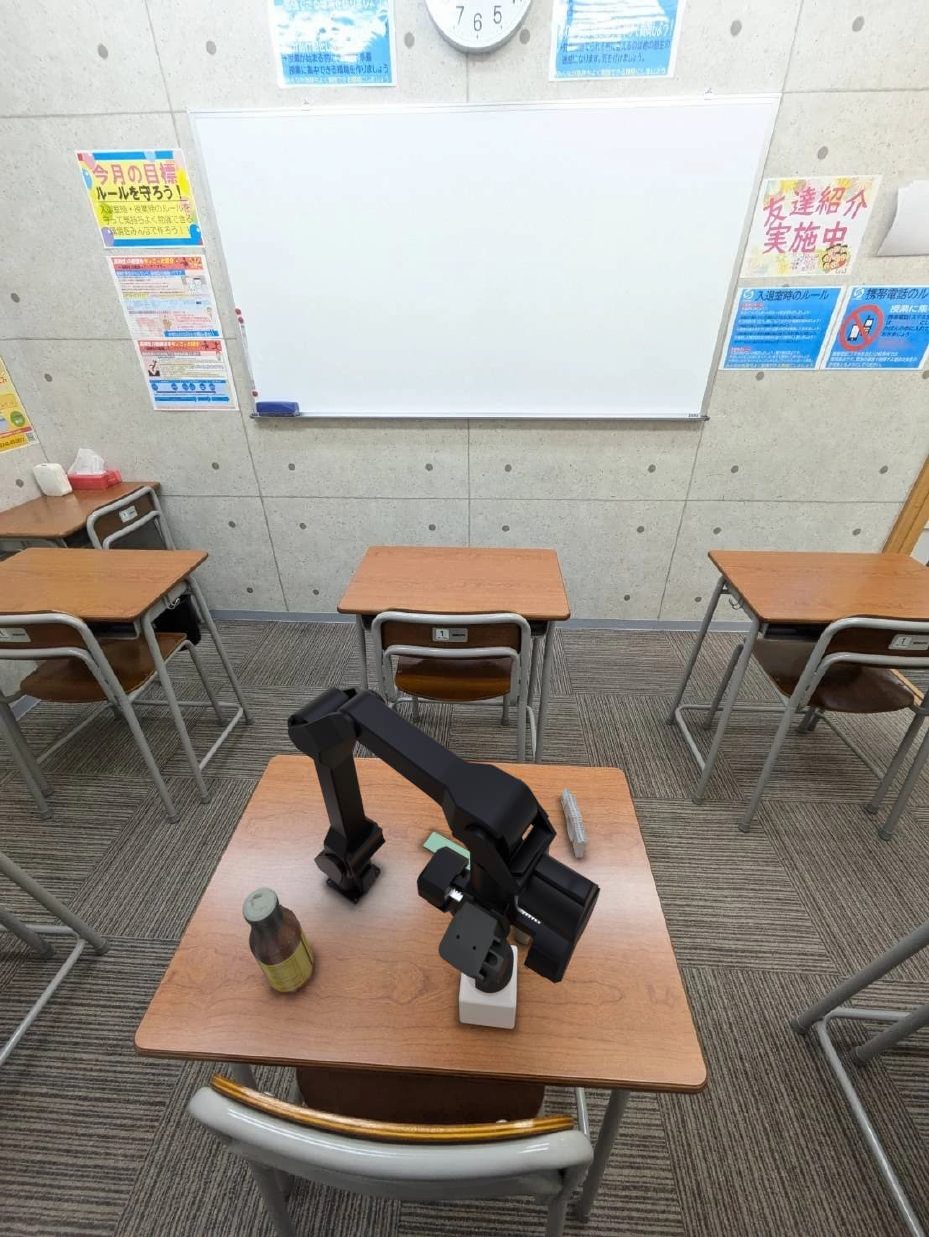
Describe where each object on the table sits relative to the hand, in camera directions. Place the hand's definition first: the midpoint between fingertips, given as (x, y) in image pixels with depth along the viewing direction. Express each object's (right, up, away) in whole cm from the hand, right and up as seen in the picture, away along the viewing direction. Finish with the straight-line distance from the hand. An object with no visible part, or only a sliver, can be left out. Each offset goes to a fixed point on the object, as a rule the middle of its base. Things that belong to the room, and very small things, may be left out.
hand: (494, 942), depth 64 cm
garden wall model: (+15, +3, +28) cm, 32 cm away
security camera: (0, -11, +7) cm, 13 cm away
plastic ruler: (-4, 0, +23) cm, 23 cm away
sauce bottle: (-28, -10, +9) cm, 31 cm away
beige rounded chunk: (+5, -6, +14) cm, 17 cm away
